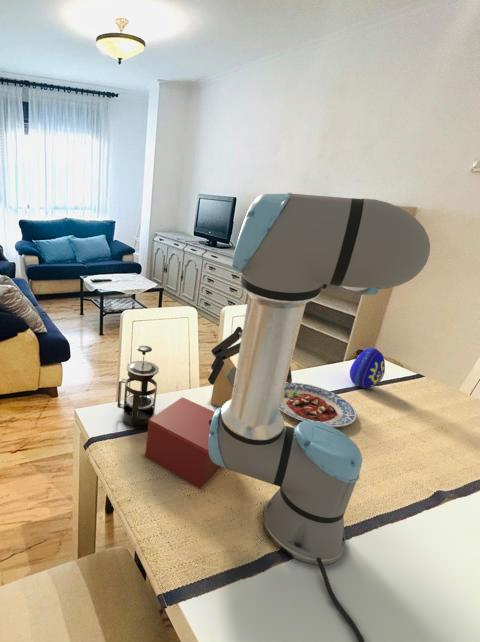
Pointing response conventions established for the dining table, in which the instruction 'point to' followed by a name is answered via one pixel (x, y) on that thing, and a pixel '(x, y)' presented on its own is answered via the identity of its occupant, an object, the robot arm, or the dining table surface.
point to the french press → (139, 392)
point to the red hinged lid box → (179, 457)
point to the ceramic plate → (316, 405)
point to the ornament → (368, 368)
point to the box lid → (186, 422)
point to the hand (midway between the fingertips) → (235, 392)
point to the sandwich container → (224, 384)
